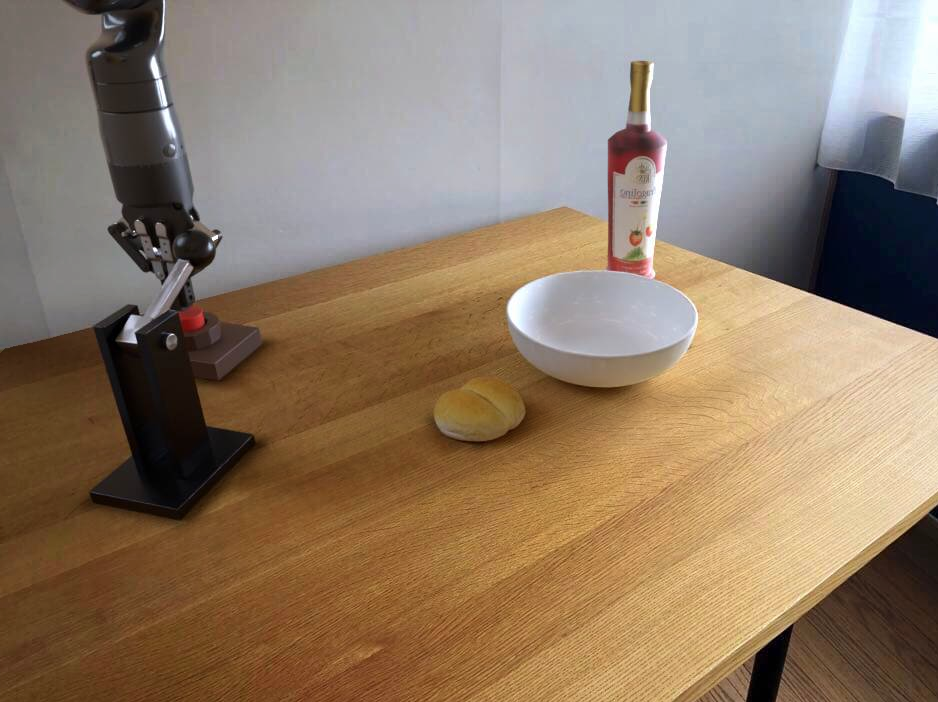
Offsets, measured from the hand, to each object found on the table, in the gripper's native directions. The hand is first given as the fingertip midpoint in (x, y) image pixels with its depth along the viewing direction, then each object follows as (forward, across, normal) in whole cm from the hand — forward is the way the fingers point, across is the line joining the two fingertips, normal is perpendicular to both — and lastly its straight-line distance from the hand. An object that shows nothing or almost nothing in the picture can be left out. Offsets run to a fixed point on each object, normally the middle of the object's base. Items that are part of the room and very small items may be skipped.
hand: (182, 308), depth 95 cm
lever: (-9, -12, +14) cm, 21 cm away
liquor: (+6, -44, -34) cm, 56 cm away
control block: (+6, 0, 0) cm, 6 cm away
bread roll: (+6, -36, +4) cm, 37 cm away
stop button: (+2, 0, 0) cm, 2 cm away
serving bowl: (+6, -45, -12) cm, 47 cm away
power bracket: (+6, -12, +20) cm, 24 cm away
